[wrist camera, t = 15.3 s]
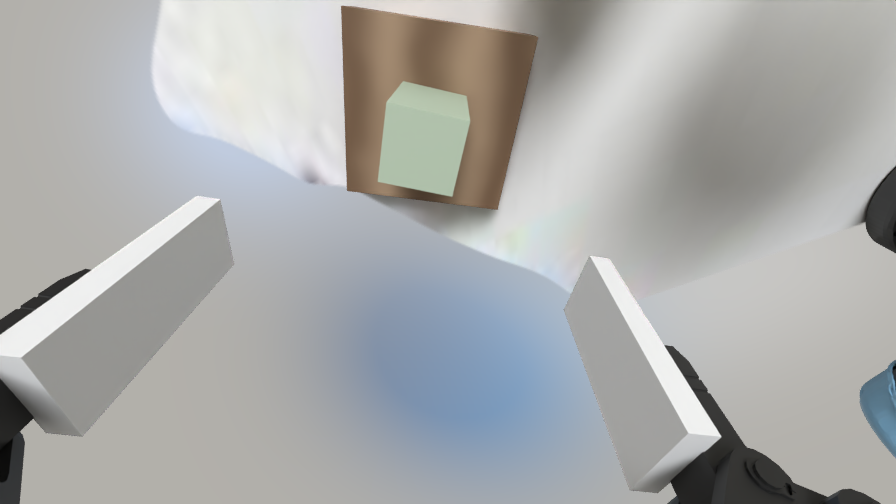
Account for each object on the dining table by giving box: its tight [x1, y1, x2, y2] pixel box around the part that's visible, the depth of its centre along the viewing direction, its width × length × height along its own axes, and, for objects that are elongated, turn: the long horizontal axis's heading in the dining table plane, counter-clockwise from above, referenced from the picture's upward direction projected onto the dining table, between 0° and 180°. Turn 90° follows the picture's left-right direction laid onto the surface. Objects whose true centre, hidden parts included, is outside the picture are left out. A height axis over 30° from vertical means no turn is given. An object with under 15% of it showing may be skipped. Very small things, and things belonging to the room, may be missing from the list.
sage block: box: [378, 81, 470, 197], centre depth 25 cm, size 5×5×8 cm
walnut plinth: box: [341, 6, 538, 210], centre depth 30 cm, size 14×14×4 cm
